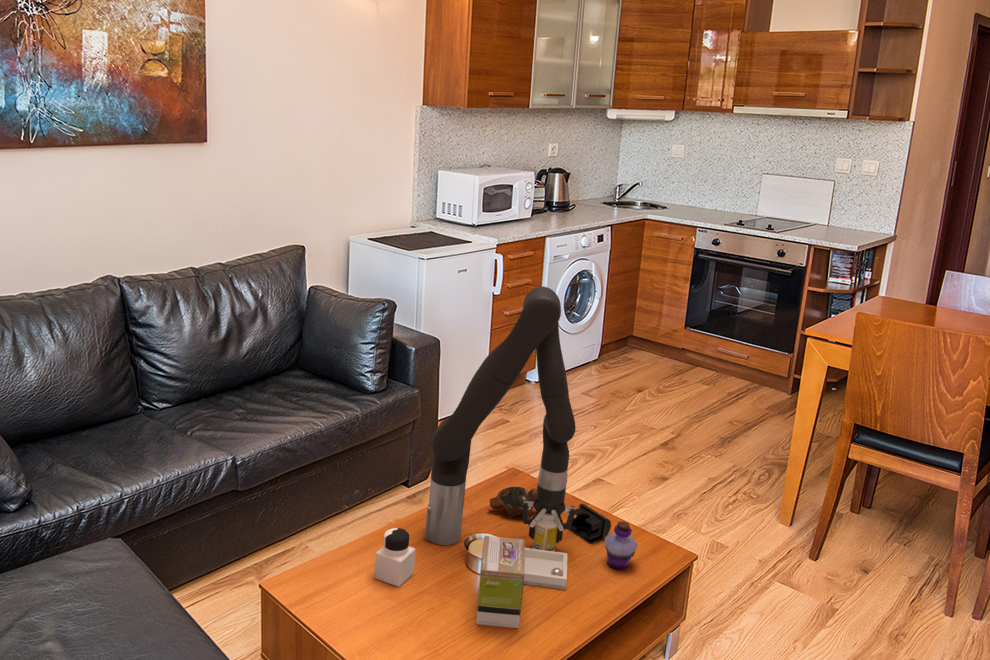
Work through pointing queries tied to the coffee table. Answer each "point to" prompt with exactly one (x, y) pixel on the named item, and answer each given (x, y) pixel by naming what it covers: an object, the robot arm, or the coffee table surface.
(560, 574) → the steel ball
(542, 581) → the tray
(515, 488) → the decorative turtle
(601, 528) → the end cap
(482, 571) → the tea box
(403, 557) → the medicine bottle
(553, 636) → the coffee table surface
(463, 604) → the coffee table surface
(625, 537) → the potion bottle
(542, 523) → the pill bottle
